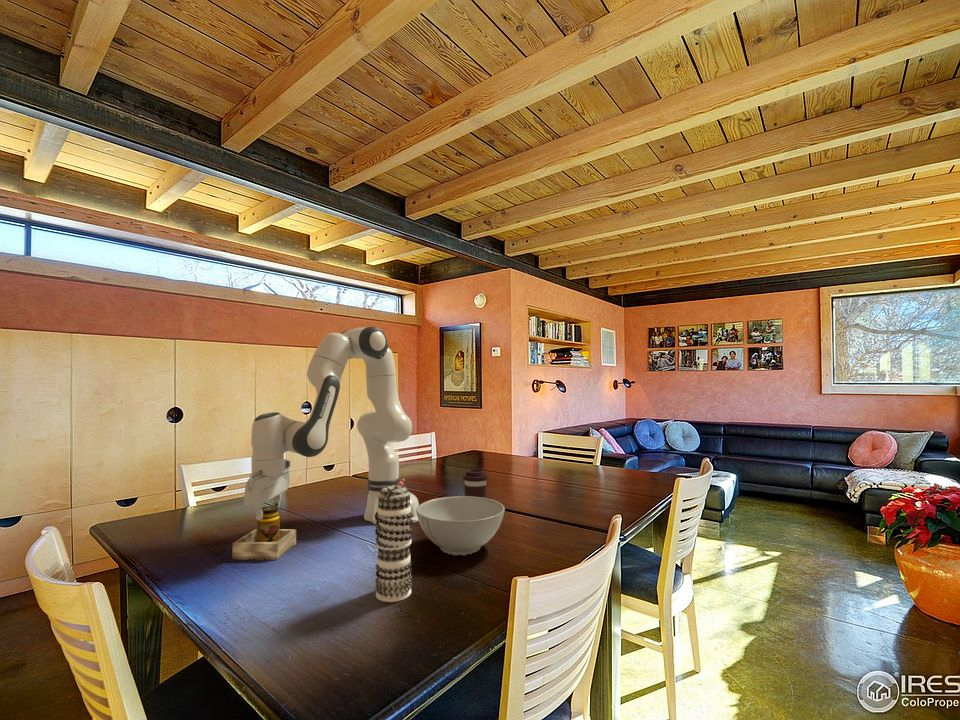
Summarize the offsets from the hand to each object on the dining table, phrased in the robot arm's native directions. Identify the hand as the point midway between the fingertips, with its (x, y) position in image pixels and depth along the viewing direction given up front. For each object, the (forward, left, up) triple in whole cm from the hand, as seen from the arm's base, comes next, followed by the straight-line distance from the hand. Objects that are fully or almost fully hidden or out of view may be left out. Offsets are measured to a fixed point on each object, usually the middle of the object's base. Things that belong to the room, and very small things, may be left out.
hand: (268, 513), depth 132 cm
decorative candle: (-44, +25, -11) cm, 52 cm away
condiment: (0, 0, -10) cm, 10 cm away
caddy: (0, 0, -11) cm, 11 cm away
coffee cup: (-61, -44, -11) cm, 75 cm away
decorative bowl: (-58, -4, -11) cm, 59 cm away
